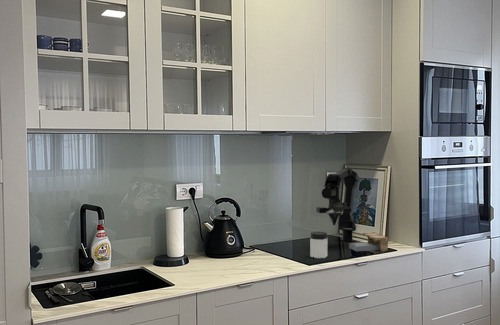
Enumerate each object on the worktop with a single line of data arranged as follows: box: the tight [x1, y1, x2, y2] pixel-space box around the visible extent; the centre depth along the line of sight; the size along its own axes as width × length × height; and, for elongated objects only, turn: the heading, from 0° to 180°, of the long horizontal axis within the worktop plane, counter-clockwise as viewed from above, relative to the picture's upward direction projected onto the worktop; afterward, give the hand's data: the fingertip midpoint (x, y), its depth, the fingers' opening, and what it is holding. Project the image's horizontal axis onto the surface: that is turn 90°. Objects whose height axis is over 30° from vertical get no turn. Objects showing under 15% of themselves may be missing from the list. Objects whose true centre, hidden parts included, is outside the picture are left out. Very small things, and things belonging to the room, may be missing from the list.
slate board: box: [348, 241, 380, 252], centre depth 270 cm, size 9×14×3 cm, turn 103°
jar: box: [309, 231, 328, 259], centre depth 252 cm, size 9×8×12 cm
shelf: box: [362, 231, 389, 252], centre depth 272 cm, size 16×7×7 cm, turn 12°
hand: (334, 225), depth 275 cm, fingers closed
